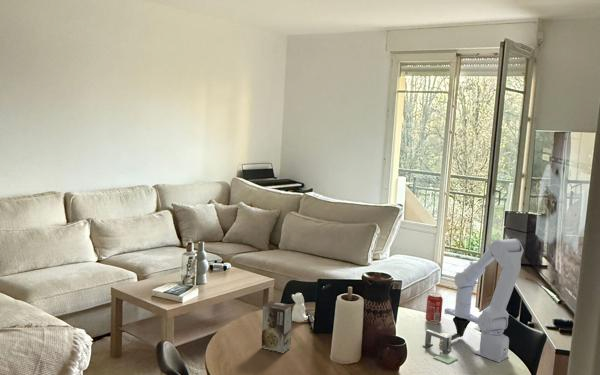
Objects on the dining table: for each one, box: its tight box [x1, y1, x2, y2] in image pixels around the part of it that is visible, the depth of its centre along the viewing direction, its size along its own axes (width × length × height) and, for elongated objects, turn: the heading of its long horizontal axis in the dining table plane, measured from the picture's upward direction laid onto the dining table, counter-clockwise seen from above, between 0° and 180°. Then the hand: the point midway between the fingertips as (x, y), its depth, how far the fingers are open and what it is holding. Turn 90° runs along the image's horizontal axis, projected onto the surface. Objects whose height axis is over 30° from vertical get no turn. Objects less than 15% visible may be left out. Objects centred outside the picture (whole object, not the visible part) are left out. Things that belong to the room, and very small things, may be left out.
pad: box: [433, 353, 458, 365], centre depth 197 cm, size 6×6×1 cm
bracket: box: [422, 329, 451, 355], centre depth 205 cm, size 9×4×6 cm, turn 44°
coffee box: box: [261, 300, 293, 353], centre depth 197 cm, size 9×6×16 cm
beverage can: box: [425, 292, 443, 325], centre depth 233 cm, size 6×6×12 cm
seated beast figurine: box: [291, 292, 309, 322], centre depth 226 cm, size 10×9×12 cm
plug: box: [439, 332, 461, 349], centre depth 211 cm, size 4×12×4 cm, turn 134°
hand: (460, 336), depth 217 cm, fingers closed
